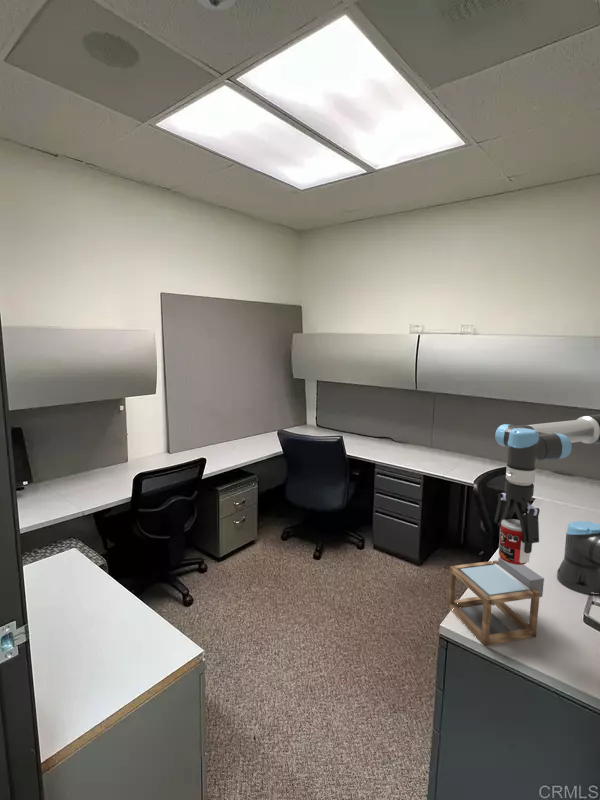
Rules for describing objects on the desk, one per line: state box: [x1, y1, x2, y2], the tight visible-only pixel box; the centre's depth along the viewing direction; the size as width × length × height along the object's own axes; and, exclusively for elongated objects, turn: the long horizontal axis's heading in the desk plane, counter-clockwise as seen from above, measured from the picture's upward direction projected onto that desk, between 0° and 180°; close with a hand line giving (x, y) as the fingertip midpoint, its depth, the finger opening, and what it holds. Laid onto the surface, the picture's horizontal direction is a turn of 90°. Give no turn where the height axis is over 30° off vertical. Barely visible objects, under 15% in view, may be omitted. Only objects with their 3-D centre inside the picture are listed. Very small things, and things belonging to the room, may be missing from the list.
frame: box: [447, 560, 541, 646], centre depth 133 cm, size 18×19×14 cm
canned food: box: [498, 518, 529, 565], centre depth 125 cm, size 8×8×11 cm
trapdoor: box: [460, 557, 545, 600], centre depth 133 cm, size 19×15×6 cm
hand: (513, 554), depth 125 cm, fingers closed on canned food, 8 cm apart
